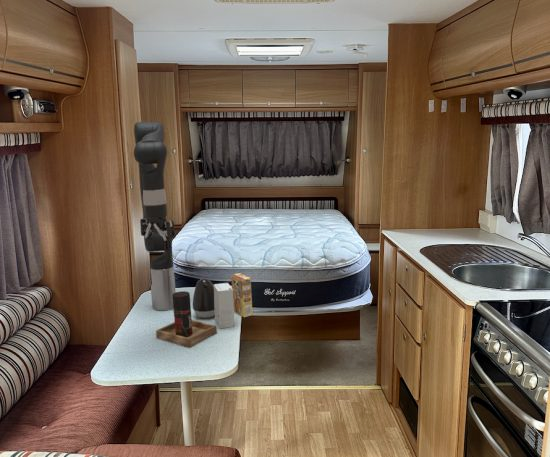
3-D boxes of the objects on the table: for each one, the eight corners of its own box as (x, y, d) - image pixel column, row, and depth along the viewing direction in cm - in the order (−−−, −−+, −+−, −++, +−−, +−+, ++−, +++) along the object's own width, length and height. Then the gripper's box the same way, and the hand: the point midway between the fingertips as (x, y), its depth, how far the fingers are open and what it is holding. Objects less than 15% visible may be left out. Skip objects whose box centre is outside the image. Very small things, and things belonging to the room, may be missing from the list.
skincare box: (214, 321, 193) (212, 284, 190) (230, 319, 195) (227, 281, 192) (219, 329, 185) (217, 290, 183) (235, 326, 187) (233, 288, 184)
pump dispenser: (195, 322, 193) (192, 284, 190) (191, 313, 203) (189, 276, 200) (221, 318, 196) (219, 280, 193) (217, 309, 206) (214, 273, 203)
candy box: (253, 315, 198) (251, 277, 195) (243, 317, 196) (241, 279, 193) (241, 309, 205) (239, 272, 202) (232, 311, 203) (230, 274, 200)
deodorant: (177, 331, 183) (174, 291, 180) (194, 330, 183) (191, 291, 180) (174, 338, 177) (170, 297, 174) (191, 337, 177) (187, 296, 174)
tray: (156, 337, 180) (155, 330, 180) (184, 324, 191) (184, 317, 191) (189, 347, 171) (188, 339, 170) (216, 333, 182) (216, 325, 182)
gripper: (178, 202, 169) (181, 249, 173) (149, 200, 177) (153, 245, 181) (161, 205, 163) (165, 254, 167) (132, 203, 171) (136, 249, 175)
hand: (159, 249), depth 174 cm, fingers open, 8 cm apart
